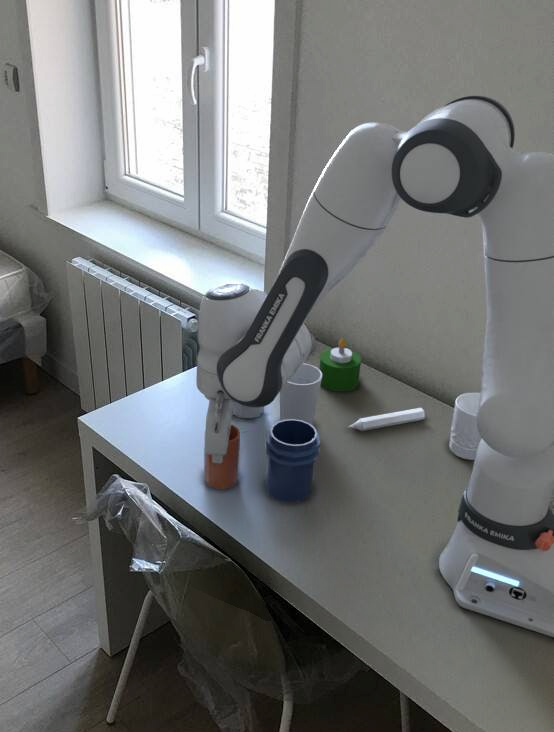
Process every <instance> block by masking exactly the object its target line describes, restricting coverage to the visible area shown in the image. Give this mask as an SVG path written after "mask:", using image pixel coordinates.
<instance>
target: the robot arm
mask: <svg viewBox="0 0 554 732" xmlns="http://www.w3.org/2000/svg"><path fill="white" fill-rule="evenodd" d="M515 131H516V130H515V125H514V121H513V118H512V116H511V114H510V112H509V110H508V109H507V108H506V107H505V106H504V105H503V104H502V103H501V102H500V101H498V100H496V99H494V98H491V97H489V96H485V95H468V96H463V97H459V98H457V99H454V100H452V101H450V102H447V103H446V104H445V105H443V106H441V107H439V108H436V109H435V110H433V111H431V112H430V113H428V114H427V115H426V116H425V117H423V118H422V119H421V120H420V121H419V122H418V123H417V124H416V125H414V127H412V128H410V129H409V130H401V129H399V128H397V127H395V126H393V125H391V124H388V123H384V122H380V121H379V122H377V121H370V122H365V123H362V124H359V125H357V126H356V127H354V128H353V129H352V130H350V132H349V133H348V134H347V136H346V137H345V138H344V139H343V141H342V142H341V143H340V145H339V146H338V147H337V148H336V150H335V152H334V153H333V155H332V156H331V158H330V159H329V161H328V163H327V164H326V166H325V168H324V169H323V170H322V172H321V175H320V176H319V178H318V180H317V181H316V184H315V186H314V188H313V190H312V192H311V194H310V196H309V198H308V201H307V203H306V205H305V208H304V210H303V212H302V215H301V217H300V219H299V222H298V225H297V228H296V230H295V233H294V236H293V238H292V240H291V243H290V245H289V248H288V250H287V252H286V254H285V256H284V259H283V262H282V264H281V266H280V269H279V271H278V274H277V277H276V278H275V280H274V282H273V284H272V286H271V288H270V289H269V291H268V293H267V294H268V295H267V297H266V299H265V301H263V300H261V299H260V298H259V297H258V296H257V295H256V294H255V293H254V291H253V290H252V289H253V288H252V287H250V286H249V285H247V284H245V283H242V282H225V283H222V284H217V285H215V286H214V287H212V288H210V289H209V290H208V291H207V292H206V293H204V295H203V296H202V299H201V301H200V306H199V311H198V319H197V320H198V321H197V342H198V345H199V350H198V354H197V358H196V381H195V383H196V384H195V385H196V388H197V391H199V392H200V393H201V394H202V395H203V396H204V397H205V399H206V400H208V406H207V411H206V416H205V417H206V418H205V429H204V443H205V452H206V453H207V454H212V462H213V463H222V462H223V455H226V453H227V449H228V443H229V436H230V430H231V424H232V423H233V419H234V418H233V417H234V414H233V411H234V405H235V402H237V403H239V404H241V405H244V406H248V407H256V408H257V407H264V408H265V407H267V406H269V405H270V404H271V403H272V402H273V401H275V399H276V398H277V396H278V395H279V394H280V390H281V388H282V387H283V386H284V385H285V384H286V382H287V381H288V380H289V379H290V378H291V377H292V376H293V374H294V373H295V372H296V371H297V369H298V368H299V367H300V366H301V365H302V364H303V363H304V362H305V361H306V360H307V359H308V358H309V356H310V355H311V353H312V350H313V337H312V334H311V331H310V329H309V327H308V325H307V324H306V323H305V322H306V320H307V319H308V317H309V315H310V314H311V312H312V311H313V310H314V308H315V307H316V306H317V305H318V303H320V302H321V300H322V299H323V298H324V297H325V296H326V295H327V294H328V293H329V292H330V291H331V290H332V289H333V288H334V287H336V286H337V285H338V284H339V283H340V282H341V281H342V280H343V279H344V278H345V277H346V276H347V275H348V274H350V273H351V272H352V271H353V270H354V269H355V268H356V267H357V266H358V265H359V264H360V263H361V262H362V261H363V260H364V259H365V258H366V256H368V254H369V253H370V252H371V251H372V249H373V248H374V247H375V245H376V244H377V243H378V242H379V240H380V239H381V237H382V236H383V234H384V233H385V231H386V229H387V228H388V226H389V224H390V222H391V220H392V219H393V217H394V215H395V213H396V212H397V210H398V208H399V207H400V205H401V204H402V202H404V203H406V204H407V205H408V206H410V207H412V208H413V209H415V210H418V211H422V212H426V213H431V214H447V215H451V216H454V217H455V216H456V217H459V218H465V219H467V218H472V217H475V216H477V215H478V218H479V220H480V224H481V231H482V246H483V263H484V275H485V276H484V277H485V279H484V280H485V292H486V294H485V295H486V325H485V334H484V343H483V354H482V367H481V368H482V369H481V386H480V393H481V395H480V401H479V406H478V411H477V418H476V423H477V429H478V431H479V434H480V436H481V437H482V439H481V441H480V443H479V446H478V449H477V453H476V457H475V460H473V466H472V470H471V473H470V478H469V482H468V485H467V487H466V488H465V489H464V491H463V493H462V495H461V499H460V502H459V506H458V511H457V512H458V515H457V519H456V520H457V524H456V526H455V529H454V532H453V533H452V535H451V537H450V540H449V541H448V543H447V545H446V546H445V548H444V549H443V550H442V551H441V553H440V555H439V558H438V568H439V571H440V574H441V576H442V578H443V579H444V580H445V582H446V583H447V585H448V586H449V587H450V588H451V589H452V591H453V596H454V599H455V602H456V604H457V605H458V606H460V607H461V608H464V609H466V610H469V611H472V612H475V613H478V614H481V615H484V616H487V617H491V618H493V619H495V620H500V621H502V622H506V623H507V624H508V623H509V624H512V625H515V626H517V627H521V628H523V629H526V630H530V631H533V632H535V633H539V634H541V635H545V636H548V637H551V638H554V513H553V511H552V510H551V506H550V504H551V503H552V498H553V495H554V153H551V152H546V151H530V152H528V151H527V152H523V151H517V150H515V149H514V145H515V138H516V137H515V136H516V133H515ZM232 425H233V424H232Z"/></svg>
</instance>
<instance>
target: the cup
mask: <svg viewBox="0 0 554 732" xmlns="http://www.w3.org/2000/svg"><path fill="white" fill-rule="evenodd" d="M321 380H322V372H321V371H320V370H319V367H316V365H312V364H309V363H304V362H303V364H302V365H301V366H300V367H299V368H298V369H297V371H296V372H295V373H294V374H293V376H292V377H291V378H290V379H289V380H288V381H287V382H286V384H285V385H284V386H283V387H282V388H281V390H280V392H279V421H282V420H287V419H296V420H302V421H305V422H307V423H310V424H311V425H312V426H314V419H315V415H316V409H317V404H318V399H319V393H320V389H321V386H322V385H321Z"/></svg>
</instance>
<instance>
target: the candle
mask: <svg viewBox="0 0 554 732" xmlns="http://www.w3.org/2000/svg"><path fill="white" fill-rule="evenodd" d="M346 347H347V341H346V339H345V338H341V339H339V341H338V347H333V348H328V349H326V350H324V351H322V352H321V354H320V356H319V364H318V365H319V366H318V369H319V370H320V371H321V372H322V380H321V385H320V386H321V387H323V388H324V389H327V390H330V391H334V392H347V391H351V390H354V389H356V387H358V385H359V380H360V373H361V364H362V357H361V355H360V354H359V353H358V352H356V351H354V350H352V349H349V348H346Z"/></svg>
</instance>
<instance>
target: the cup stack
mask: <svg viewBox="0 0 554 732" xmlns="http://www.w3.org/2000/svg"><path fill="white" fill-rule="evenodd" d="M269 431H270V436H269V438H270V440H271V443H272V444H273V445H275V446H276V447H277V448H279V449H280V450H284V451H290V452H303V451H306V450H310V449H311V448H312V447H313V446H315V445H316V442H317V435H318V434H319V433H318V431H317V429H316V427H315V426H314V425H313V426H312V425H311V424H310V423H307V422H305V421H302V420H296V419H287V420H282V421H280V420H279V421H276V422H275V423H274V424H272V425H271V427H270V429H269ZM270 451H271V452H272V453H273V454H274V455H275V456H277V457H279V458H281V459H284V460H290V461H299V460H305V459H308V458H310V457H311V456H312V455H313V454H314V453H315V452H314V453H313V454H312V455H308V456H302V457H297V458H293V457H289V456H284V455H279V454H277V453H276V452H274V451H273V450H272V449H270ZM315 462H316V459H315V460H314V461H313V462H312V463H310V464H305V465H300V466H289V465H284V464H280V463H277V462H275V461H274V460H273V459H272V458H270V457H269V456H268V455H267V471H266V472H267V473H266V486H265V487H266V490H267V493H268V495H270V497H272V498H274V499H275V500H277V501H280V502H284V503H299V502H301V501H304V500H306V499H307V498H309V496H310V495H311V494H312V486H313V478H314V477H313V476H314V468H315Z"/></svg>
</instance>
